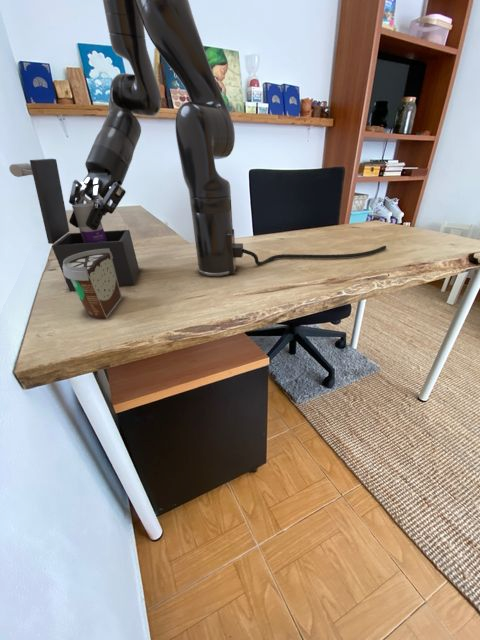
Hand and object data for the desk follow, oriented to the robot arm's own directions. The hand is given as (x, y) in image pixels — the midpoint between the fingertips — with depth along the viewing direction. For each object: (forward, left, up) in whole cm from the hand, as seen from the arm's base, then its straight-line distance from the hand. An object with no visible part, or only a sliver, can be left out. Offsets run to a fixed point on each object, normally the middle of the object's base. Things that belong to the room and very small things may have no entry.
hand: (82, 226), depth 63 cm
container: (-1, -2, -11) cm, 11 cm away
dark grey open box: (-1, -2, -12) cm, 13 cm away
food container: (-6, +14, -13) cm, 20 cm away
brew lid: (+4, 0, +5) cm, 7 cm away
